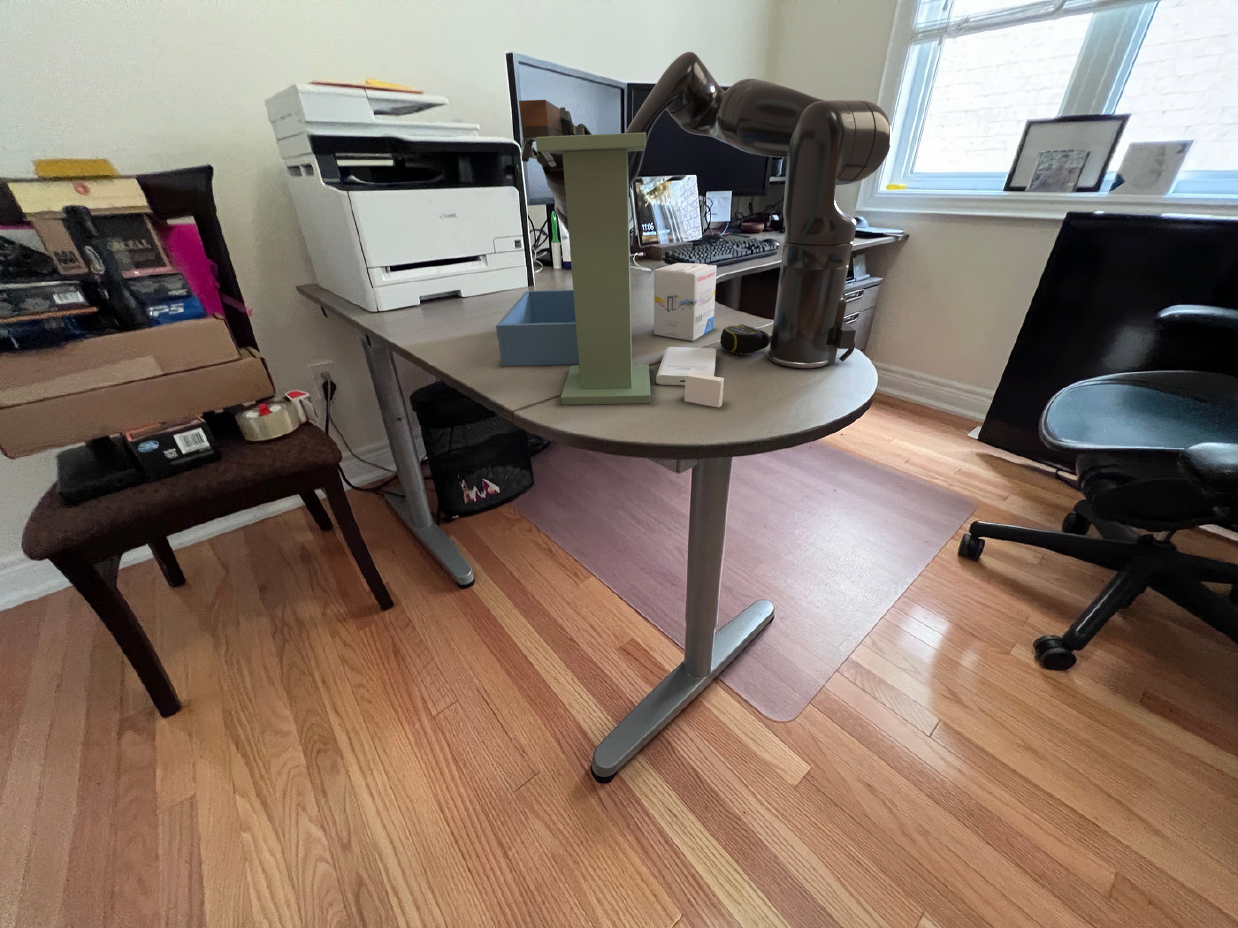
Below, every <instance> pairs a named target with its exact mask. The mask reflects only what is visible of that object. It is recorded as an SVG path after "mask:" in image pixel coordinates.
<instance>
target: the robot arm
mask: <svg viewBox="0 0 1238 928" xmlns="http://www.w3.org/2000/svg"><path fill="white" fill-rule="evenodd" d="M559 109H561V124H562V128H563V132H564V136H573V135H593V134H592V133H591V131H590V130H589V129H588V128H587V127H586V125H585V124H584V123H579V124H578V125H574V122H573V119H572V115H571V112H570V111H569V110H566V107H565V106H564V107H563V106H562V107H561V106H560V107H559ZM665 111H666V112H667V113H668V114H669V115H670V116H671V118H672V119H673V120H674V121H675V122H676V124H677V125H678V126H679V127H680V128H681V129H682V130H683V131H685V132H687V133H689V134H692V135H697V136H706V137H711V138H714V139H716V140H718V141H720V142H723V143H725V144H727V145H730V146H732V147H733V148H735V149H738V150H740V151H742V152H745V153H747V154H751V155H757V156H763V157H770V158H783V159H784V158H785V159H786V169H785V182H784V183H785V184H784V194H783V195H784V196H783V207H782V219H783V224H784V238H783V246H782V253H781V260H780V261H781V262H780V263H781V264H780V269H779V277H778V284H777V293H776V298H775V299H776V300H775V308H774V316H773V321H772V323H773V324H772V331H771V335H769V350H768V359H769V360H770V361H771V362H773V363H775V364H778V365H780V366H784V367H787V368H796V369H814V368H815V369H816V368H821V367H824V366H828V365H835V363H836V358H837V353H838V350H846V351H845V352H844V353H843V354H842V355H841V356H840V357H838V360H839V361H841V362H844V361H845V360H847V359H848V358H849V357H850V356H851V355H852V354H853V352H854V351H855V348H856V341H855V337H856V334H857V330H856V329H855V328H854V327H852V326H851V325H849V324H848V323H847V322H844V319H845V315H846V309H847V306H848V305H847V304H848V300H847V299H845V298H844V297H843V296H844V292H845V287H846V282H847V276H848V271H849V266H850V262H851V261H850V260H851V256H852V251H853V246H854V241H855V237H856V231H857V221H856V219H855V218H854V217H853V216H851V215H849V214H847V213H845V212H843V211H842V210H841V209H840V208H839V207H838V205H837V203H836V190H837V189H836V188H837V186H845V185H852V184H855V183H857V182H860V181H862V180H865V179H866V178H868V177H870V176H871V175H872V174H873V173H875V172H876V171H877V170H878V169H879V168H880V167H881V166H882V164H883V163H884V162H885V160H886V158H887V156H888V155H889V152H890V149H891V145H892V137H893V136H892V135H893V133H892V126H891V123H890V119H889V117H888V115H887V113H886V112H885V111H884V109H883V108H881V106H879V105H878V104H876V103H874V102H872V101H868V100H858V99H857V100H849V99H848V100H845V99H843V100H841V99H839V100H837V99H836V100H831V99H830V100H829V99H828V100H827V99H822V98H817V97H816V96H812V95H810V94H807V93H805V92H802V91H799V90H796V89H793V88H789V87H787V86H784V85H781V84H778V83H775V82H772V81H767V80H763V79H758V78H743V79H741V80H737V82H735V83H733V84H732V85H731V86H730V87H728V89H727V90H724V89H722V87H721V86H720V85H719V83H718V82H717V80H716V79H715V78H714V77H713V75H712V74H711V72H710V71H709V69H708V68H707V67H706V66H705V63H703V61H702V60H701V58H700V57H699V56H698V55H697V54H696V53H695V52H693V51H686V52H684V53H682V54H680V55H679V56H678V57H676V59H674V60H673V61H672V62H671V63H670V64H669V66H668V67H667V68H666V69H665V71H664V72H663V73H662V74H661V76H660V77H659V79H658V80H657V82H656V83H655V85H654V86H653V88H652V90H651V91H650V93H649V95H647V98H646V99H645V100H644V102H643V103H642V105H641V107H640V108H639V109H638V111H637V112H636V114H635V116H634V118H633V119H632V121H631V122H630V124H629V125H628V127H627V129H626V130H625V132H624V133H646V147H645V149H644V151H628V187H629V188H630V187H631V186H632V184H633V183H634V182H635V181H636V179H637V177H638V176H639V173H640V171H641V167H642V164H643V160H644V157H645V153H646V148H647V145H648V141H649V138H650V135H651V132H652V130H653V128H654V126H655V124H656V123H657V121H658V119H660V117H661V116H662V114H664V112H665ZM534 142H535V143H536V140H531V139H526V138H523V137H522V140H521V145H520V146H521V147H520V148H521V149H520V153H521V155H520V156H521V157H520V158H521V162H522V163H523V162H524V163H528V162H529V160H530V159H534V160H536V162H537V163H538V164H539V165H541V168H542V172H543V174H544V177H545V180H546V184H547V187H548V188H549V191H550V193H551V195H552V196H553V198H554V211H555V213H556V215H557V217H558V220H559V221H560V222H561V224H562V225H563V227H564V228H565V230H566V231H567V233H568V234H569V230H568V218H567V205H566V192H565V179H564V167H563V154H554V153H546V152H539V151H537V149H535V147H534V146H533V145H534Z"/></svg>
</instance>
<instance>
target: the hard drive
mask: <svg viewBox="0 0 1238 928" xmlns="http://www.w3.org/2000/svg"><path fill="white" fill-rule="evenodd" d="M716 360H717V349H716V348H714V347H711V348H710V347H687V346H686V347H684V346H683V347H682V346H681V347H680V346H668V347H667V346H666V348H665V351H664V353H663V356H662V359H661V362H660V364H659V367H658V370H657V373H656V378H655V383H656V384H657V385H661V386H663V385H664V386H684V387H685V376H686V375H687V374H688V373H695V374H701V375H708V376H714V377H715V371H716V362H717V361H716Z"/></svg>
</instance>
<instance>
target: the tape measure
mask: <svg viewBox="0 0 1238 928" xmlns="http://www.w3.org/2000/svg"><path fill="white" fill-rule="evenodd" d="M769 337H770V335H769V333H767V332H765V331H763V330H761V329H758V328H756V327H752V326H749V325H746V324H738V325H728V326H726V327H724V328H723V329H722V331H721V334H720V340H719V341H720V343H719V344H720V346H721V348H722V349H723V350H724V351H727V352H729V353H732V354H735V355H738V356H739V355H741V354H743V355H748V354H754V353H756V352H759V351H761V350H764V349H766V348H767V347H768V346H770V343H769Z"/></svg>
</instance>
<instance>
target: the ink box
mask: <svg viewBox="0 0 1238 928" xmlns="http://www.w3.org/2000/svg"><path fill="white" fill-rule="evenodd" d="M653 275H654V276H653V277H654V278H653V280H654V281H653V282H654V284H653V285H654V286H653V291H654V292H653V293H654V294H653V306H654V307H653V309H654V310H653V335H654V336H661V337H666V338H673V339H677V340H684V341H690V342H694V341H695V340H697V339H699V338H701V337H702V336H704V335H705V334H708V333H709V332H711V331H712V330H714V323H715V322H714V321H715V302H716V285H717V265H716V264H715V265H714V264H713V265H710V264H706V263H688V262H676V263H672V264H669V265H666V266H662V267H659V268H656V269H654V270H653Z"/></svg>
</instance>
